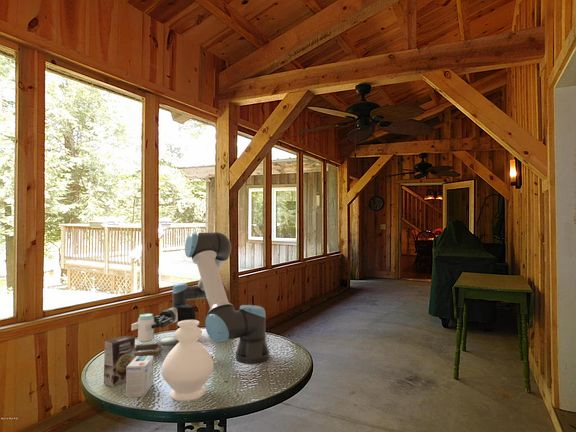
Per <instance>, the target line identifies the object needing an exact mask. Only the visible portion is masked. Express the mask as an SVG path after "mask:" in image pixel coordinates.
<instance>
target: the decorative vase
mask: <svg viewBox="0 0 576 432" xmlns="http://www.w3.org/2000/svg"><path fill="white" fill-rule="evenodd" d="M199 325H200V320H183V321H180V322H178V321H177V327H178V326H179V327H180V328H179V329H178V328H177V330H175V332H174V336H175V338H176V339H177V340H178V341H179V343H178V344H175V346H173V348H171V350H170V351H169V352H168V353H167V355H166V357H165V358H164V360H163V363H162V365H161V375H162V378H163V379H164V381H165V382H166V383H167V385H169V386H170V388H171V390H169V395H168V396H169V398H170V399H172V400H173V401H177V402H189V401H194V400H197V399H200V398H201V397H203V396H204V395H205V394H206V393H207V389H206V387H205V386H204V385H205V384H206V382H207V381H208V379H209V378H210V377H211V375H212V373H213V371H214V360H213V357H212V355H211V353H210V352H209V350H208V349H207V348H206V347H205V346H204V345H203V344H202V343H200V341H199V339H200V338H201V336H203V335H202V334H203V331H202V329H201V328H200V327H198V326H199Z"/></svg>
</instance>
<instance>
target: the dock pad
mask: <svg viewBox="0 0 576 432" xmlns="http://www.w3.org/2000/svg"><path fill="white" fill-rule="evenodd" d="M155 343H161V347H162V346H167V347H168V346H174V345H175V346H176V345H177V339H176V338H175V335H174V336H172V335H171V336H164V337H160V338H158V339H156V342H155Z"/></svg>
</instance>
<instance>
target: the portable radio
mask: <svg viewBox="0 0 576 432" xmlns="http://www.w3.org/2000/svg"><path fill="white" fill-rule="evenodd" d="M177 313H178V321H177V323H178V322H180V321H183V320H196V319H197V317H196V306H195V304H187V305H181V304H179V306H178V307H177ZM179 328H180V327H179V326H178V325H177V329H179ZM178 343H179V341H178V340H177V344H178ZM177 344H176V345H177Z"/></svg>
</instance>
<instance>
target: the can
mask: <svg viewBox="0 0 576 432" xmlns="http://www.w3.org/2000/svg"><path fill="white" fill-rule="evenodd" d="M154 317H155V316H154V314H153V313H143V314H141V313H140V314H139V317H138V319H137V320H138V329H137V341H138V342H140V343H148V342H152V341H153V340H154V339H155V329H152V330H150V331H147V332H145V326H146V325H148V324H151V323H153V322H154Z"/></svg>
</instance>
